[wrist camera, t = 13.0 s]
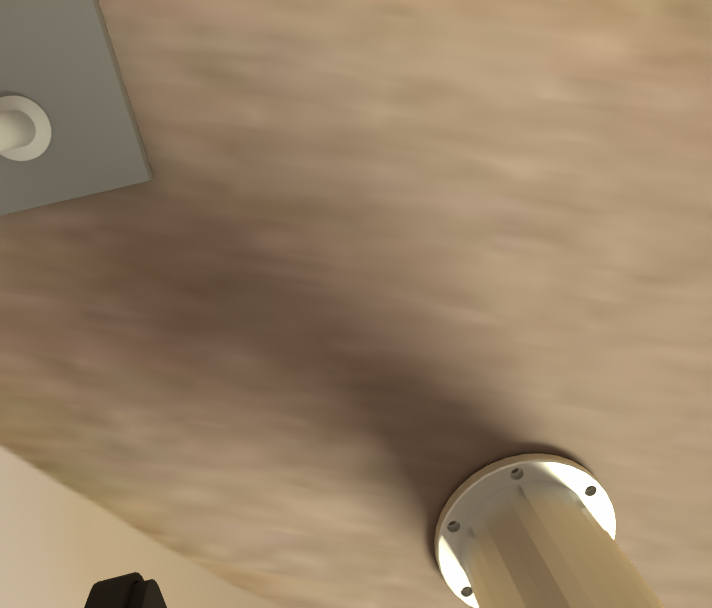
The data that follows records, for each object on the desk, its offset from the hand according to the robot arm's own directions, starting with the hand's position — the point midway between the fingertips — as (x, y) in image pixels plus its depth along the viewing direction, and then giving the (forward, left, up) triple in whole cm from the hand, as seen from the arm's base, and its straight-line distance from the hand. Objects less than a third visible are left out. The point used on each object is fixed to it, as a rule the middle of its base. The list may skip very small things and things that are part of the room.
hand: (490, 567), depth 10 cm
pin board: (+13, +15, -30) cm, 36 cm away
